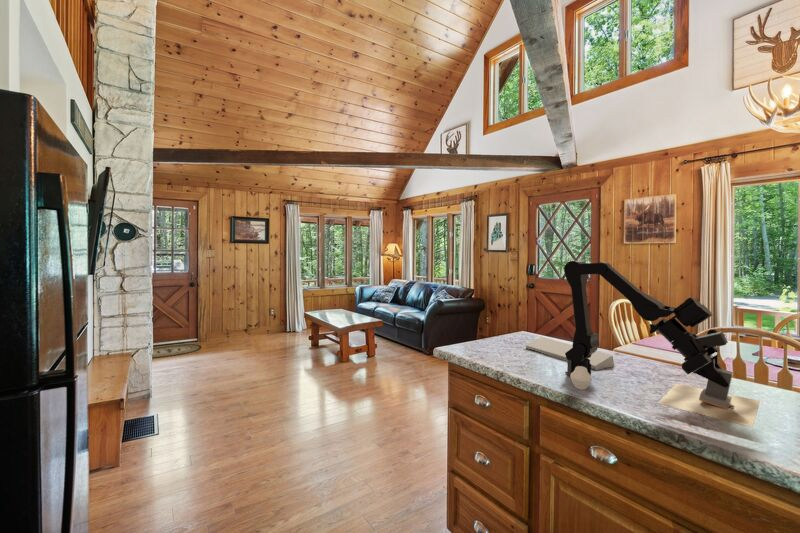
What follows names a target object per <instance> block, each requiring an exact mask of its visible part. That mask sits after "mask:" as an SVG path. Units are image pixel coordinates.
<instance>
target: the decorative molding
mask: <svg viewBox="0 0 800 533" xmlns="http://www.w3.org/2000/svg"><path fill="white" fill-rule="evenodd" d="M524 345H525V348H526V349H527V348H529V349H528V350H530V349H532V350H531V351H533V350H535V351H534V352H537V351H538V353H540V352H541V353H540V354H543V353H544V355H546V354H547V356H550V357H553V358H556V359H561V360H564V361H567V362H568V360H567V358H566V355H565V353H566V352H567V351H569V350H570V349H571V348H573V344H570V343H566V342H563V341H558V340H556V339H555V340H554V339H552V338H549V337H548V338H547V337H543V336H540V337H538V338H536V339H534V340H532V341H530V342H528V343H526V344H524ZM588 359H589V360H590V364H591V370H592V369H593V370H595V371H598V370H599V371H600V370H603V369H606V368H613V367H615V362H614V360H615V359H614V356H613V354H609V353H605V352H602V351H598V350H596V351H595V352H594V353H593V354H592V355H591V357H590V358H588Z"/></svg>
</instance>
